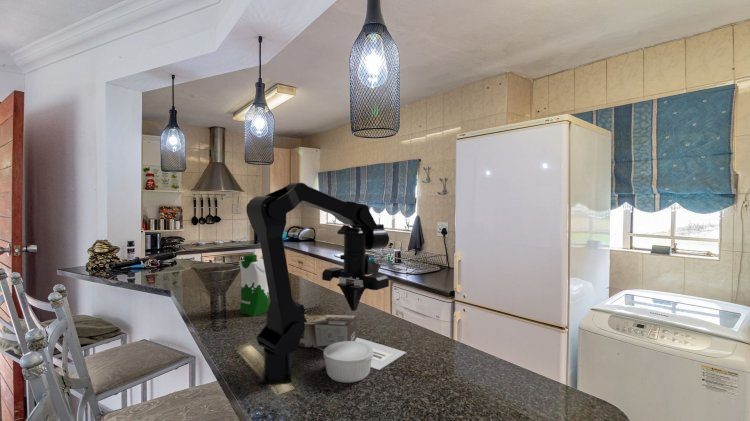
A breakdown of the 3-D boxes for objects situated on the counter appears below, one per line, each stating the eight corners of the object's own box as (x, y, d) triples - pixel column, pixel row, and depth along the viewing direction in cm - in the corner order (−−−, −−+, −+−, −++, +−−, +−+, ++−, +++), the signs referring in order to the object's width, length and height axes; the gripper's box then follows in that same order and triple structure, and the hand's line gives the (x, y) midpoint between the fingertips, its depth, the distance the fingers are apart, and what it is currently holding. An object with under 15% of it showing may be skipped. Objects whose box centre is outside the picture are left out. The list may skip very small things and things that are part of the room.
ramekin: (326, 361, 85) (326, 340, 85) (373, 362, 85) (373, 340, 85) (319, 385, 74) (319, 360, 74) (373, 386, 74) (373, 361, 74)
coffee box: (289, 347, 93) (348, 351, 90) (288, 322, 93) (347, 325, 90) (303, 335, 102) (357, 338, 99) (303, 313, 102) (357, 315, 99)
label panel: (406, 352, 91) (406, 351, 91) (379, 370, 81) (379, 369, 81) (341, 333, 103) (341, 332, 103) (311, 346, 94) (311, 345, 94)
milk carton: (236, 313, 121) (236, 254, 121) (257, 306, 129) (257, 251, 129) (252, 317, 117) (253, 257, 116) (274, 310, 124) (274, 254, 124)
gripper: (401, 251, 93) (400, 310, 94) (348, 245, 105) (347, 298, 105) (375, 256, 85) (374, 321, 85) (321, 249, 96) (320, 306, 96)
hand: (353, 310), depth 93 cm, fingers closed
